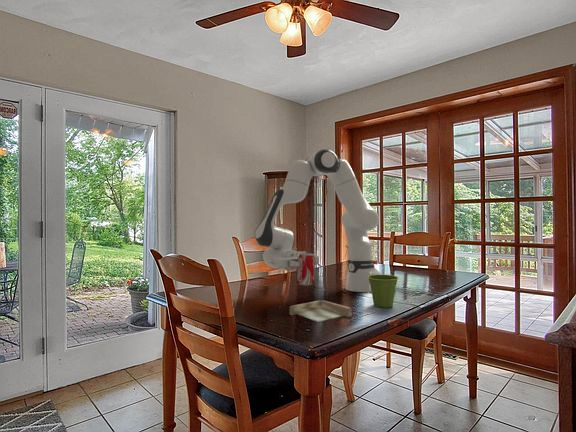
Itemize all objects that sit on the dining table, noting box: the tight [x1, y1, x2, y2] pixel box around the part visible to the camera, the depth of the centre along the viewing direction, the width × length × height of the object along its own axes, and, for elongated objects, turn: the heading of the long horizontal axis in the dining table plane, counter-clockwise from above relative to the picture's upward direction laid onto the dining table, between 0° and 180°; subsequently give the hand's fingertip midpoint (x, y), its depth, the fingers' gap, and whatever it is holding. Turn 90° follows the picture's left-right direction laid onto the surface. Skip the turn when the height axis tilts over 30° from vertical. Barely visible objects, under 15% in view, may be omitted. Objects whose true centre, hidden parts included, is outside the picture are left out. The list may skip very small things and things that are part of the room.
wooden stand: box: [289, 299, 352, 323], centre depth 126 cm, size 16×16×3 cm
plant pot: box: [367, 273, 399, 309], centre depth 138 cm, size 12×12×11 cm
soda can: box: [296, 252, 316, 286], centre depth 140 cm, size 7×7×12 cm
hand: (308, 263), depth 139 cm, fingers closed on soda can, 7 cm apart
